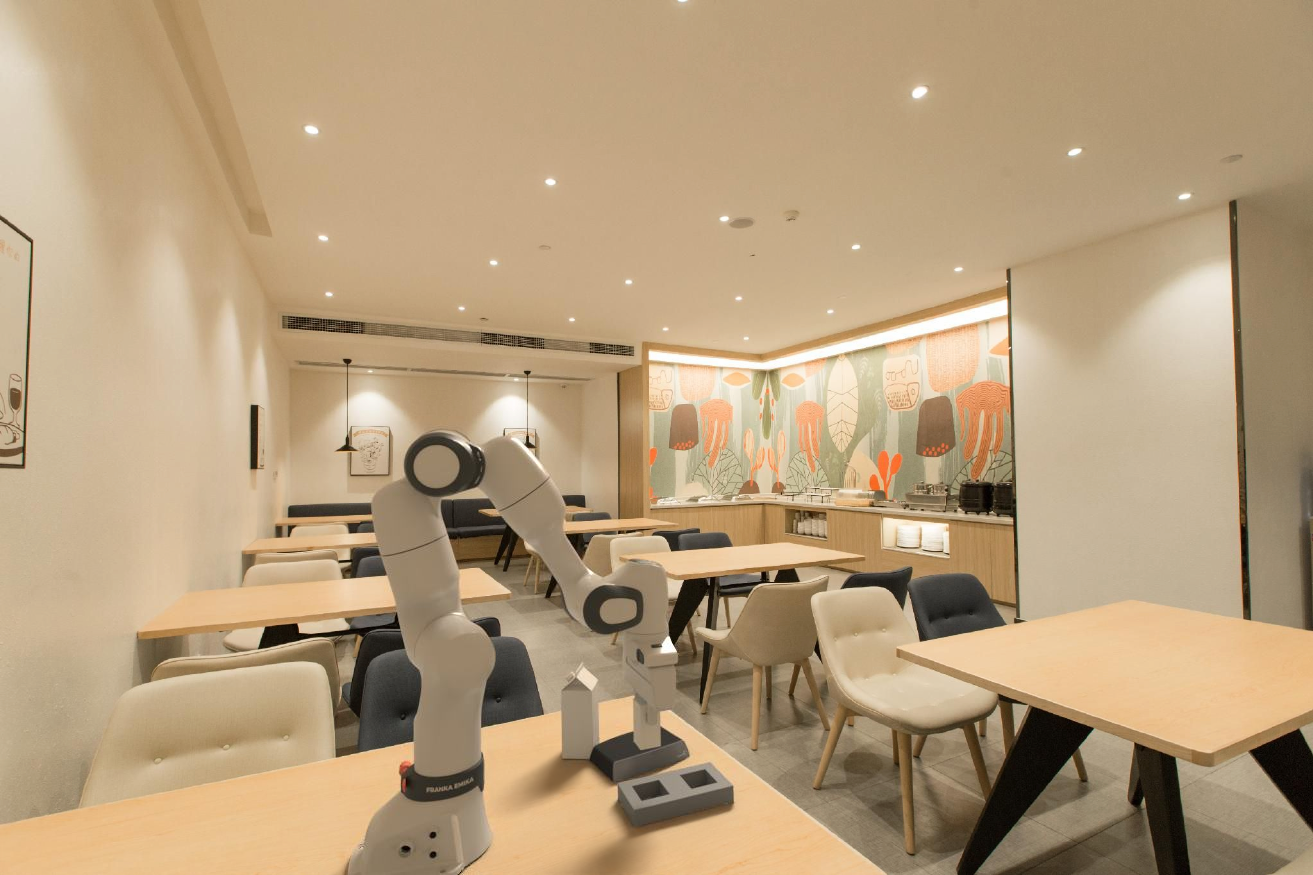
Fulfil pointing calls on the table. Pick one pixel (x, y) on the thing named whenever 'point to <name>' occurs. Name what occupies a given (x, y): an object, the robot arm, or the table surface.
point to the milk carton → (579, 714)
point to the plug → (645, 726)
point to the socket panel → (674, 793)
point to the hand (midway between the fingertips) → (646, 718)
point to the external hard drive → (636, 755)
